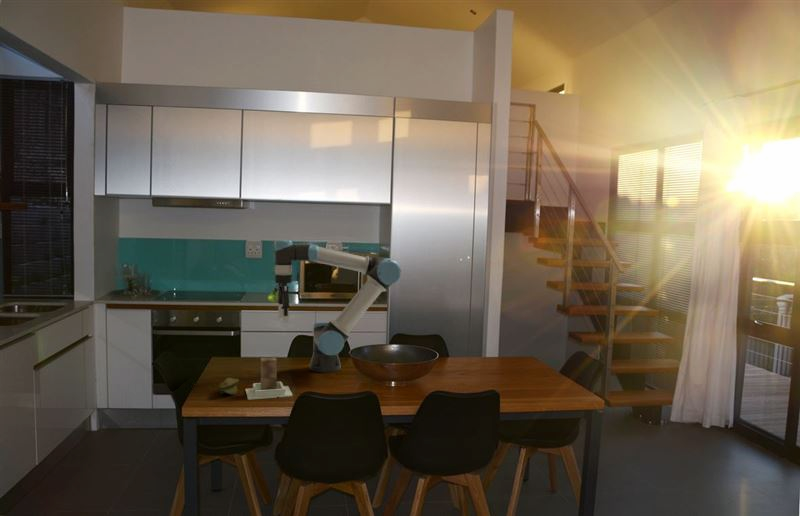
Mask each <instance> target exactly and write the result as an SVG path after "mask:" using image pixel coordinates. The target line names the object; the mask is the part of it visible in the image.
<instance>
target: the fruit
mask: <svg viewBox="0 0 800 516" xmlns="http://www.w3.org/2000/svg"><path fill="white" fill-rule="evenodd" d="M239 382H240V379H238V378H232V377H227V378H225V379H224V380H223V381H222V382H220V383H219V385H218V388H219V394H221V395H222V394H228V395H236V394H237V393H238V386H237V385H238V384H239Z"/></svg>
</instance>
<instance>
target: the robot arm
mask: <svg viewBox="0 0 800 516" xmlns="http://www.w3.org/2000/svg"><path fill="white" fill-rule="evenodd" d="M274 246H275V247H274V260H275V261H274V262H275V263H274V266H273V269H274V272H275V274H274V282H275V283H276V284H278V294H277V295H278V296H277V303H278V305H277V306H278V307H277V309H278V312H277V313H278V316H277V317H278V319H281V321H282V322H281V323H282V324H289V323H290V321H289V319H290V318H289V308H290V297H289V286H288V284H291V283H292V282H293V275H292V273H293V262H314V263H319V264H324V265H327V266H332V267H337V268H342V269H346V270H351V271H355V272H359V273H362V275H364V276H367V280H366V282H365V283H364V284H363V285H362V287H361V288H360V289H359V290H358V292H357V293H356V294H355V295H354V296H353V297H352V299H350V301H349V302H348V303H347V305H346V306H345V307H344V309H343V310H342V311H341V312H340V313H339V315H337V317H336V318H335V319H334V320H332V319H331V320H329V321H321V322H320V321H317V322H314V323H313V328H312V330H313V346H312V347H313V349H312V350H313V351H312V352H313V353H312V357H311V359H310V363H309V370H310V371H312V372H316V373H317V372H318V373H330V372H337V371H340V370H341V367H342V365H341V364H342V363H341V361H340V358H339V354H340V352H341V351H342V350H343V348H344V346H345V342H346V341H347V340H348V339H349V337H350V331H351V330H352V329H353V327H354V326H355V325H356V324H357V323H358V321H359V320H360V319H361V317H363V316H364V315H365V313H366V312H367V310H369V307H371V305H373V303H374V302H375V300H376V299H377V298H378V297H379V296H380V295H381V293H382V292H387V291H388V290H389V288H391V286H392V285H395V284H396V283H397V282H398V281H399V280H400V278H401V275H402V268H401V266H400V264H399V263H398V262H397V261H396V260H394V259H393V258H388V257H385V256H384V257H382V256H381V257H380V256H372V255H366V256H361V255H357V254H353V253H348V252H344V251H339V250H335V249H331V248H326V247H322V246H318V245H317V244H309V243H305V242H299V244H294V243H293V241H292V240H291V239H290V240H289V239H278V240H276V241H275V245H274Z"/></svg>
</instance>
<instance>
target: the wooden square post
mask: <svg viewBox="0 0 800 516" xmlns="http://www.w3.org/2000/svg"><path fill="white" fill-rule="evenodd" d="M277 361H278V360H277V358H276V357H275V356H273V357H260V383H261V390H271V389H277V382H278V381H277V379H278V376H277V372H278V369H277V367H278V365H277V364H278V363H277Z"/></svg>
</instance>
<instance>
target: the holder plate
mask: <svg viewBox="0 0 800 516" xmlns="http://www.w3.org/2000/svg"><path fill="white" fill-rule="evenodd" d="M245 393H246V397H247V401H248V400H249V401H251V400H262V399H263V400H264V399H276V398H277V397H279V398H287V397H289V398H292V397H294V396H293V393H292V391H291V390H290V387H289V385H284V384H283V382H282V381H277V389H271V390H261V382H258V383H257V382H255V383H252V388H245ZM277 399H278V398H277Z"/></svg>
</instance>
